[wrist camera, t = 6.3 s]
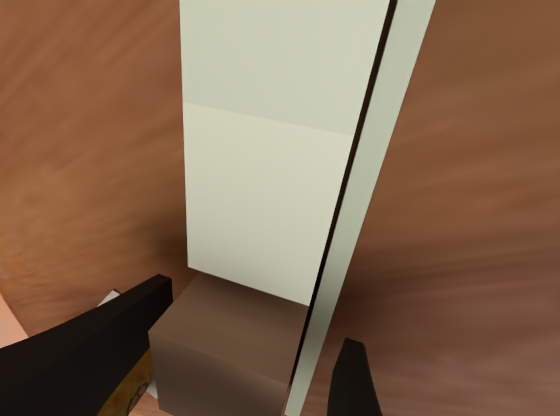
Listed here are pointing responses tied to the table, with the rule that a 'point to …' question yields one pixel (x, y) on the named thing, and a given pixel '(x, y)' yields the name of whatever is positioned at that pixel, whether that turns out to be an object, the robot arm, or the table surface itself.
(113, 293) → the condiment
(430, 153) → the table surface
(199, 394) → the walnut key block
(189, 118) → the sage bar
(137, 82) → the table surface
